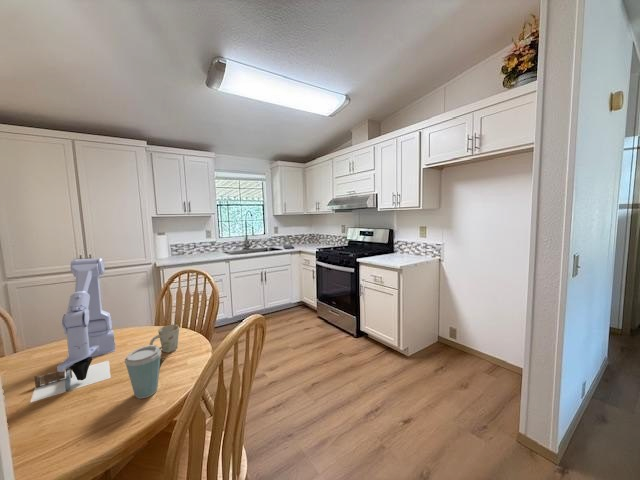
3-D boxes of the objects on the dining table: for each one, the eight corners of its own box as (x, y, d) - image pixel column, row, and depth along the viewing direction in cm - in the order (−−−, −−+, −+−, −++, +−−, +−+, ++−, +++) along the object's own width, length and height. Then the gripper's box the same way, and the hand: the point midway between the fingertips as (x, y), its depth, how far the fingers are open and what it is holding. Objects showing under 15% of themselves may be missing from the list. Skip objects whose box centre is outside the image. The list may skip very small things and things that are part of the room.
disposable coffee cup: (137, 407, 87) (134, 362, 85) (120, 396, 92) (117, 354, 91) (169, 388, 96) (167, 348, 95) (152, 379, 101) (150, 341, 100)
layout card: (109, 361, 114) (108, 360, 114) (110, 378, 102) (110, 377, 102) (37, 380, 101) (37, 379, 101) (30, 403, 89) (30, 402, 89)
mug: (184, 347, 126) (182, 327, 125) (155, 360, 115) (154, 337, 114) (174, 343, 130) (172, 323, 129) (145, 354, 120) (144, 332, 119)
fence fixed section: (72, 376, 103) (71, 365, 103) (72, 378, 102) (71, 367, 102) (35, 386, 97) (34, 375, 97) (35, 388, 96) (33, 377, 96)
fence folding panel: (70, 389, 95) (69, 379, 94) (65, 390, 94) (64, 381, 94) (71, 377, 102) (70, 368, 101) (66, 378, 101) (66, 369, 101)
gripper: (85, 334, 105) (88, 367, 107) (46, 353, 91) (50, 391, 92) (103, 334, 105) (106, 368, 106) (67, 354, 91) (70, 392, 92)
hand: (81, 379), depth 99 cm, fingers closed
